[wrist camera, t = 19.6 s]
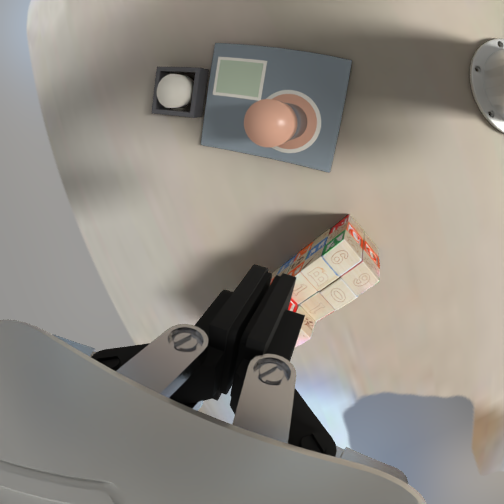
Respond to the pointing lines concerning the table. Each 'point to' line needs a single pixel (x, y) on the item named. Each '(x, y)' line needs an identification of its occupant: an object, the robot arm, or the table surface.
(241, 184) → the table surface
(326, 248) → the stack of blocks
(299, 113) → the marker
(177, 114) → the button housing
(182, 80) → the button
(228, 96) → the picture board
